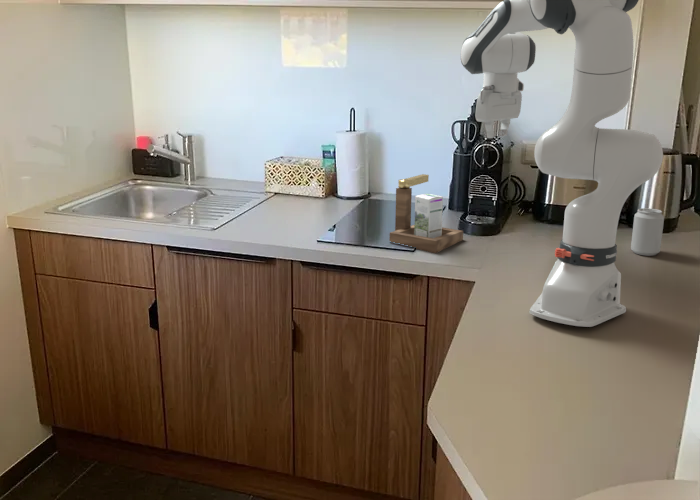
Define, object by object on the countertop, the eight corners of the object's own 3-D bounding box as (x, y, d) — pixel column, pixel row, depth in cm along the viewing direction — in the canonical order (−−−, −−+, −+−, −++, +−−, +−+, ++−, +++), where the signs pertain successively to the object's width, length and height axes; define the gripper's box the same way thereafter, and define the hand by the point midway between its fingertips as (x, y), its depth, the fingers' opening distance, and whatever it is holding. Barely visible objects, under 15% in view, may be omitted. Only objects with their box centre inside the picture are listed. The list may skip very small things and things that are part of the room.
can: (662, 257, 192) (667, 213, 188) (632, 255, 193) (637, 211, 190) (656, 250, 199) (661, 207, 196) (628, 248, 200) (632, 206, 197)
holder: (435, 255, 192) (437, 198, 188) (383, 245, 202) (384, 191, 198) (462, 244, 203) (465, 190, 199) (412, 235, 213) (413, 184, 209)
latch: (406, 188, 201) (406, 181, 200) (396, 187, 202) (396, 180, 202) (430, 181, 212) (430, 174, 212) (420, 180, 214) (420, 174, 213)
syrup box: (442, 246, 201) (444, 195, 197) (427, 250, 197) (429, 198, 194) (427, 242, 205) (429, 192, 201) (412, 245, 201) (414, 195, 198)
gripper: (492, 86, 182) (489, 140, 185) (526, 84, 197) (523, 134, 201) (470, 85, 185) (468, 139, 189) (505, 83, 201) (502, 133, 205)
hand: (496, 136), depth 195 cm, fingers open, 6 cm apart
